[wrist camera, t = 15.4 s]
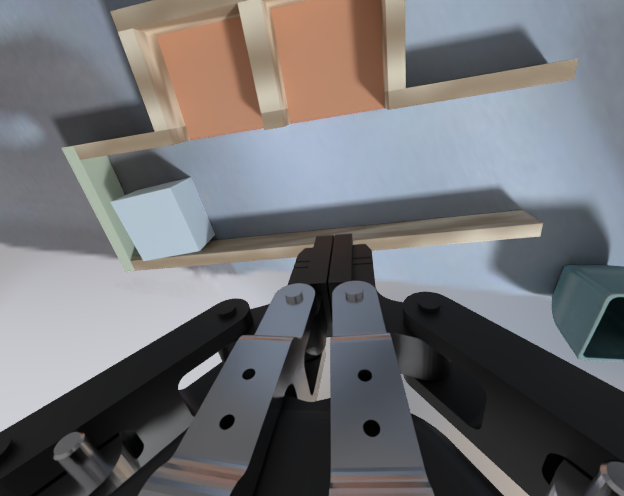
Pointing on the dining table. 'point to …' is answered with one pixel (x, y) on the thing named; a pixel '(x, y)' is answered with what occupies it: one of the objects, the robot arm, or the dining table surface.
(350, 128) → the dining table surface
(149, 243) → the pale blue block
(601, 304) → the flower pot
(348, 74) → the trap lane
